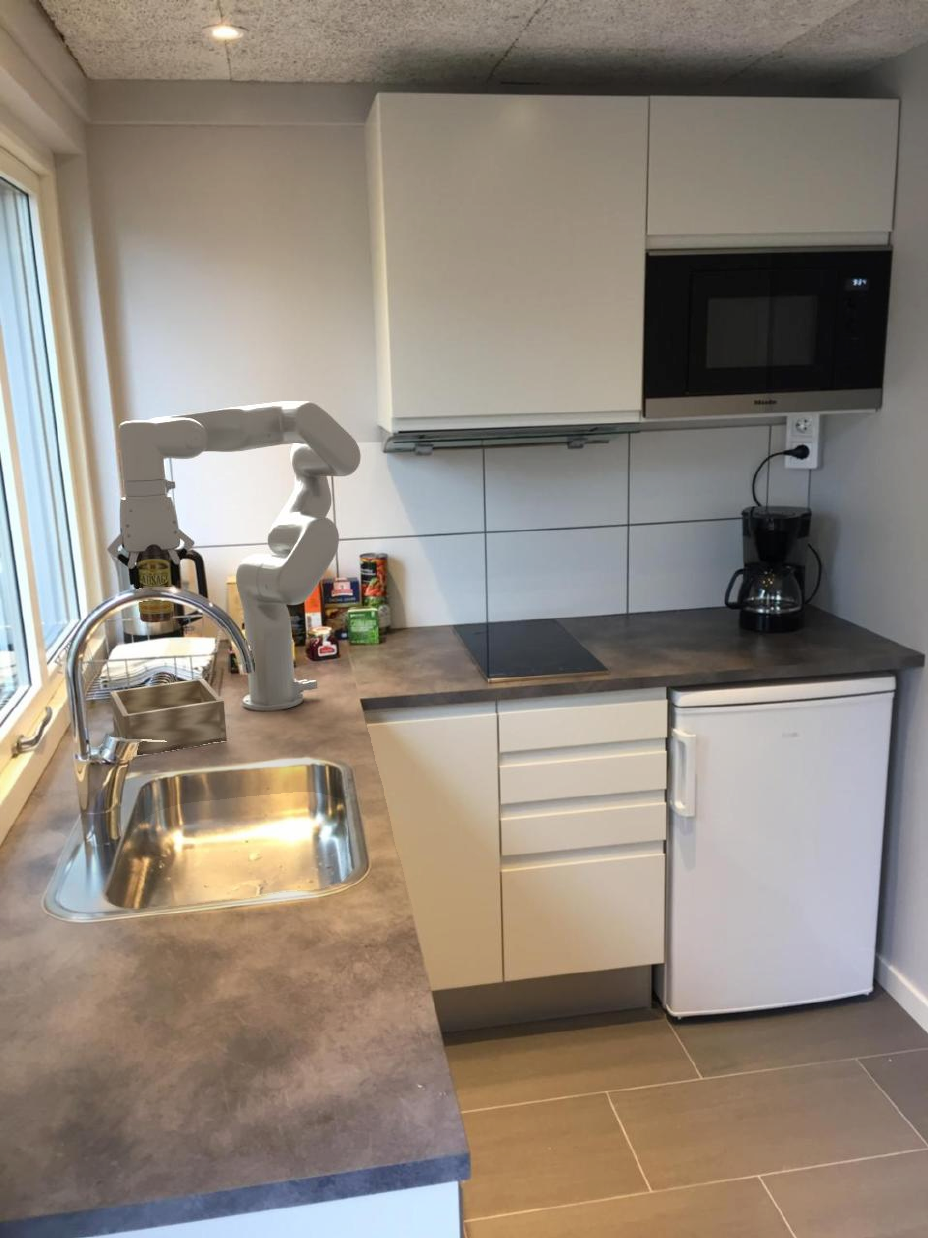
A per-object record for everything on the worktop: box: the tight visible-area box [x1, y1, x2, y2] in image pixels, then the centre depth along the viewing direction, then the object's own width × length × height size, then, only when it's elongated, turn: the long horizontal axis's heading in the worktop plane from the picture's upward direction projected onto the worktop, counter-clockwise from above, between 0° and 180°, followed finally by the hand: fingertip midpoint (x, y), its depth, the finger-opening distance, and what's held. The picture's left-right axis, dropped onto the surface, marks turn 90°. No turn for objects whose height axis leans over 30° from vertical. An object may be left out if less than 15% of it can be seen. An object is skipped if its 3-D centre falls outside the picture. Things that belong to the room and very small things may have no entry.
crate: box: [109, 678, 228, 755], centre depth 193 cm, size 18×18×8 cm
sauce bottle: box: [135, 544, 175, 623], centre depth 187 cm, size 6×6×20 cm
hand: (155, 585), depth 188 cm, fingers closed on sauce bottle, 6 cm apart
